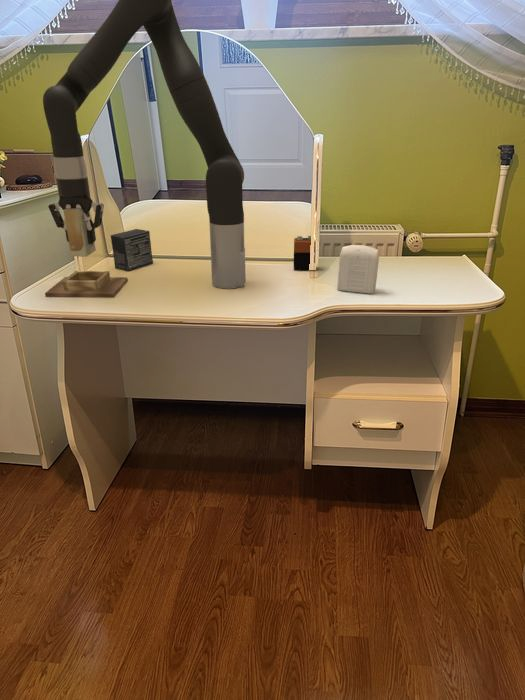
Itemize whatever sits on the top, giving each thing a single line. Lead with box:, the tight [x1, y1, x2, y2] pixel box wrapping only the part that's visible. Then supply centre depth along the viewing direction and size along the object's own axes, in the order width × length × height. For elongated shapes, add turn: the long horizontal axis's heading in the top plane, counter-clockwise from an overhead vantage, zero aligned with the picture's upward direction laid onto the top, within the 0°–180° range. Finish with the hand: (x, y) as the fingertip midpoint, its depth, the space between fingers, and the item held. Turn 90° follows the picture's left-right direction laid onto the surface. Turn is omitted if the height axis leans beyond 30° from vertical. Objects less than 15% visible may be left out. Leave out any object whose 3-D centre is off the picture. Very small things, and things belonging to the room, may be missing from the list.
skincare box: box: [63, 208, 96, 258], centre depth 135 cm, size 6×4×12 cm
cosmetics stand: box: [44, 270, 129, 298], centre depth 141 cm, size 18×14×4 cm
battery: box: [293, 235, 312, 272], centre depth 156 cm, size 4×7×10 cm, turn 88°
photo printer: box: [336, 244, 380, 295], centre depth 137 cm, size 10×4×12 cm, turn 73°
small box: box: [110, 228, 154, 272], centre depth 159 cm, size 11×6×10 cm, turn 144°
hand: (81, 243), depth 136 cm, fingers closed on skincare box, 4 cm apart
